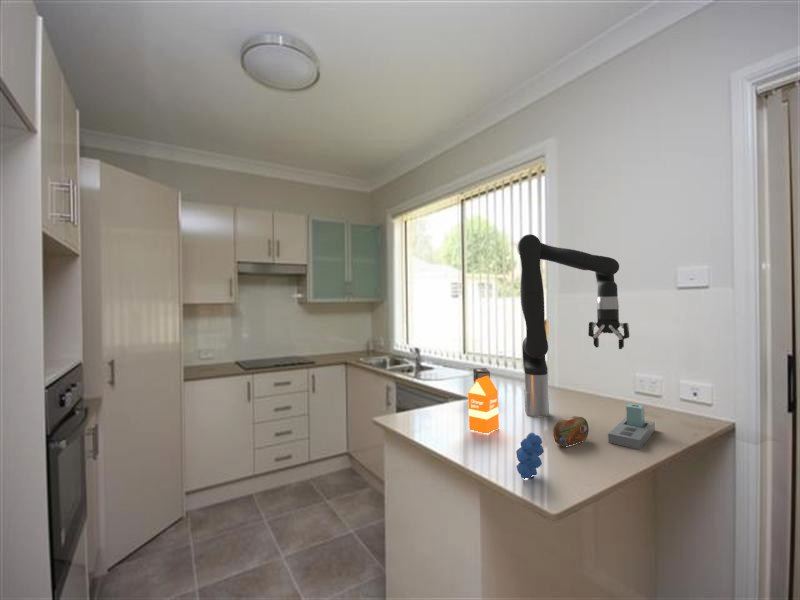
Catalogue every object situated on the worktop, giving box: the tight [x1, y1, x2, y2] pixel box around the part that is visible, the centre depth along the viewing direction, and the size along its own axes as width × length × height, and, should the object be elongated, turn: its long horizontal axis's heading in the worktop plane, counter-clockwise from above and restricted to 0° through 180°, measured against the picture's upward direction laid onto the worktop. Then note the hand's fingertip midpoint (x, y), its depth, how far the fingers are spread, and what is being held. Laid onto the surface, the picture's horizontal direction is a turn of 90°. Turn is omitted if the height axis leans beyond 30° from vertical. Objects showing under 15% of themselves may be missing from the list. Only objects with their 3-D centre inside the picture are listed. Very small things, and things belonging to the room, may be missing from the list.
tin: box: [552, 415, 590, 448], centre depth 123 cm, size 15×3×8 cm, turn 117°
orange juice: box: [467, 376, 500, 433], centre depth 137 cm, size 8×9×20 cm
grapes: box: [515, 432, 545, 479], centre depth 101 cm, size 12×7×12 cm, turn 131°
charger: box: [626, 403, 646, 428], centre depth 130 cm, size 4×4×9 cm
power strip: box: [607, 416, 656, 450], centre depth 127 cm, size 22×9×4 cm, turn 135°
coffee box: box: [472, 367, 491, 384], centre depth 172 cm, size 9×6×16 cm
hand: (608, 348), depth 147 cm, fingers open, 8 cm apart
